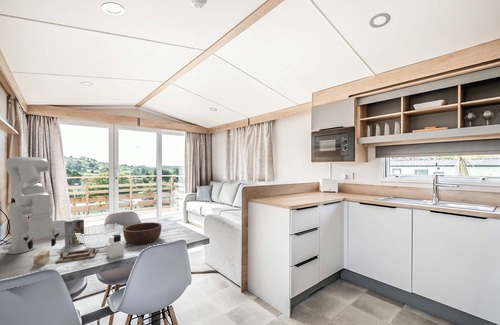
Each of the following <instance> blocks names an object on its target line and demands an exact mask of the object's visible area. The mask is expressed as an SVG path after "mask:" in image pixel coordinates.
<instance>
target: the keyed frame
mask: <svg viewBox="0 0 500 325" xmlns="http://www.w3.org/2000/svg"><path fill="white" fill-rule="evenodd" d="M98 252H99V249H98V248H95V247H94V248H88V249H80V250H73V251H67V252H65V253H64V252H60V253H59V257H58V258H57V260H55V261H54V262H55V264H60V263H67V262H68V263H69V262H74V261H83V260H88V259H95V256H96V255H97V253H98Z"/></svg>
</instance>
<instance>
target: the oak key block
mask: <svg viewBox="0 0 500 325" xmlns="http://www.w3.org/2000/svg"><path fill="white" fill-rule="evenodd" d="M50 257H51V256H50V249H45V250H38V252H37V253H35V254H34V255H33V259H32V261H33V262H32V263H33V264H32V265H33V268H36V267H43V266H45V265H47V263H49V261H50V260H51V259H50Z"/></svg>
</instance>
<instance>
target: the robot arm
mask: <svg viewBox="0 0 500 325" xmlns="http://www.w3.org/2000/svg"><path fill="white" fill-rule="evenodd" d="M5 169H6V171H7V174H8V176H9V178H10V194H11V198H12V199H14V201H15V202H12V203H10V205H9V206H8V213H9V218H10V244H9V245H3V246H2V248H1V249H2V250H3V251H5V250H7V252H6V253H7V254H8V255H17V254H23V253H28V252H31V251H33V250H35V248H36V246H35V245H34V241H33V239H40V238H48V237H50V238H51V240H50V246H51V247H54V246H55V245H56V244H57V243H56V241H57V237H59V235H60V234H61V233H62V231H63V230H62V229H61V228H57V227H55V225H54V220H53V217H52V216H51V195H50V194H49V193H47V192H46V191H45V189H46V188H45V186H44V185H43V184H42V183H40V182H41V179H42V178H41V174H40V173H46V172H48V171H49V170H50V162H49V161H48V159H46V158H43V157H39V156H38V157H34V156H33V157H31V156H12V157H8V158H7V159H6V160H5ZM30 218H31V219H30ZM55 232H56V233H55Z"/></svg>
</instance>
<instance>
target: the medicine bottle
mask: <svg viewBox="0 0 500 325" xmlns="http://www.w3.org/2000/svg"><path fill="white" fill-rule="evenodd" d="M108 241H109V242H108V243H107V244H106V246H105V247H106V248H105V249H106V252H105V253H106V256H107V257H108V258H109V259H116V258H119V257H122V256H124V255H125V250H124V248H125V245H124V243H123V242H122V237H121V234H112V235H110V236H109V237H108Z"/></svg>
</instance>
